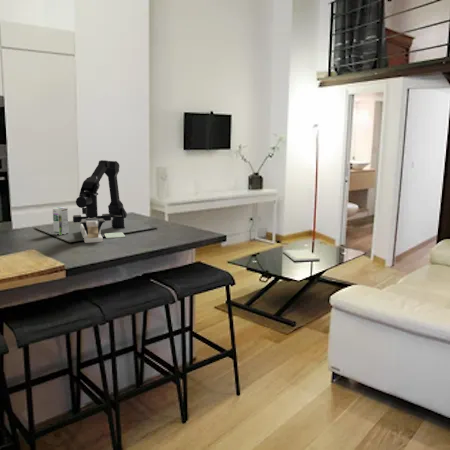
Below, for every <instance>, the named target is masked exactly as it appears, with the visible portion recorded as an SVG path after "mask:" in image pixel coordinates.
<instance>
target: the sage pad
mask: <svg viewBox="0 0 450 450" xmlns="http://www.w3.org/2000/svg"><path fill="white" fill-rule="evenodd" d="M103 234H104V236H105V239H107V240H108V239H119V238H126V235H125V234H124V233H123V232H122V231H121V232H108V233H107V232H105V233H103Z"/></svg>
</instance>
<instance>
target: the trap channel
mask: <svg viewBox="0 0 450 450" xmlns="http://www.w3.org/2000/svg"><path fill="white" fill-rule="evenodd" d="M86 224H87V226H97V227H98V220H86ZM80 233H81V236H82V239H83V238H84V239H83V241H84V244H85V243H87V244H89V243H102V242H104V238H103V236H102V234H101V233H102V231H101V228H100V231H99V234H98V237H93V238H88V235H87V233H86V230H85V228H84V226H83V224H80Z"/></svg>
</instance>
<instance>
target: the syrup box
mask: <svg viewBox="0 0 450 450" xmlns="http://www.w3.org/2000/svg"><path fill="white" fill-rule="evenodd" d="M68 212H69V211H68V207H63V206H56V207H52V221H53V222H52V223H53V234H54V235H57V234H59V236H63V235H62V234H64V235H67V234H66V233H68V234H69V215H68V214H69V213H68Z"/></svg>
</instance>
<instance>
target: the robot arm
mask: <svg viewBox="0 0 450 450" xmlns="http://www.w3.org/2000/svg"><path fill="white" fill-rule="evenodd" d="M119 173H120V164H119V162H118V161H117V160H106V159H105V160H104V159H102V160H99V161H98V163H97V166H96V167H95V168H94V170H93V172H92V174H91V175H89V177H87V178H86V179H84V180H83V182H82V184H81V187H80V190H79V195H78V197H77V198H76V200H75V205H76V206H77V207H78V208H80V209H81V214H82V215H84V216H82V215H81V214H79V215H78V214H73V216H72V222H73V223H80V225H81V224H83V226H84V228H85V230H86V233H87V235H88V230H87V224H86V222H87V221H97V222H98V234H99V231H100V228H101V227H102V226H103V223H106V222H108V221H109V222H110V221H111V227H112V229H114V230H115V229H116V230H117V229H125V218H127V215H128V214H127V211H126V209H125V208H124V204H123V202H122V201H121V200H120V199H121V198H120V192H119V184H118V182H119V181H118V174H119ZM104 175H106V177H107V178H108V179H107V180H108V187H109V195H110V202H109V205H108V206H107V207H108V213H102V214H101V215H98V195H99V193H98V190H99V189H100V186H101V185H100V181H101V180H102V178H103V176H104Z"/></svg>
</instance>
